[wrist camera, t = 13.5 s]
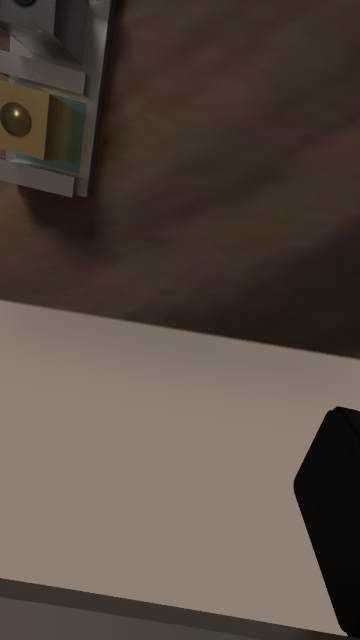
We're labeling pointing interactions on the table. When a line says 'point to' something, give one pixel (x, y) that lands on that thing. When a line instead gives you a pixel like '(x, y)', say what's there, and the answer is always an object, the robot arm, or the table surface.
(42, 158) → the yellow tall block
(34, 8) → the dark knobbed cube
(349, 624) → the robot arm
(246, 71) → the table surface
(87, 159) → the rail
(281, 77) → the table surface
